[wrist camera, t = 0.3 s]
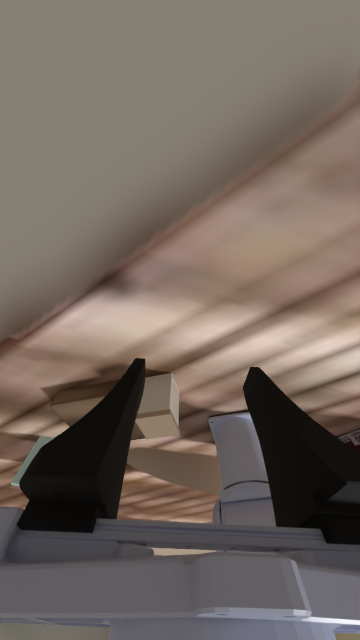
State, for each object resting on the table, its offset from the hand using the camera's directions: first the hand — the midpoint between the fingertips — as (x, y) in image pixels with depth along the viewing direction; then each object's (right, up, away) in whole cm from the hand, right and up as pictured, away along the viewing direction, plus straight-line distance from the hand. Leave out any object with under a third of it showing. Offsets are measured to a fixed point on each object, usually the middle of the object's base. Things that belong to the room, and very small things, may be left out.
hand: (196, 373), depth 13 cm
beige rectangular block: (-4, -6, +15) cm, 16 cm away
